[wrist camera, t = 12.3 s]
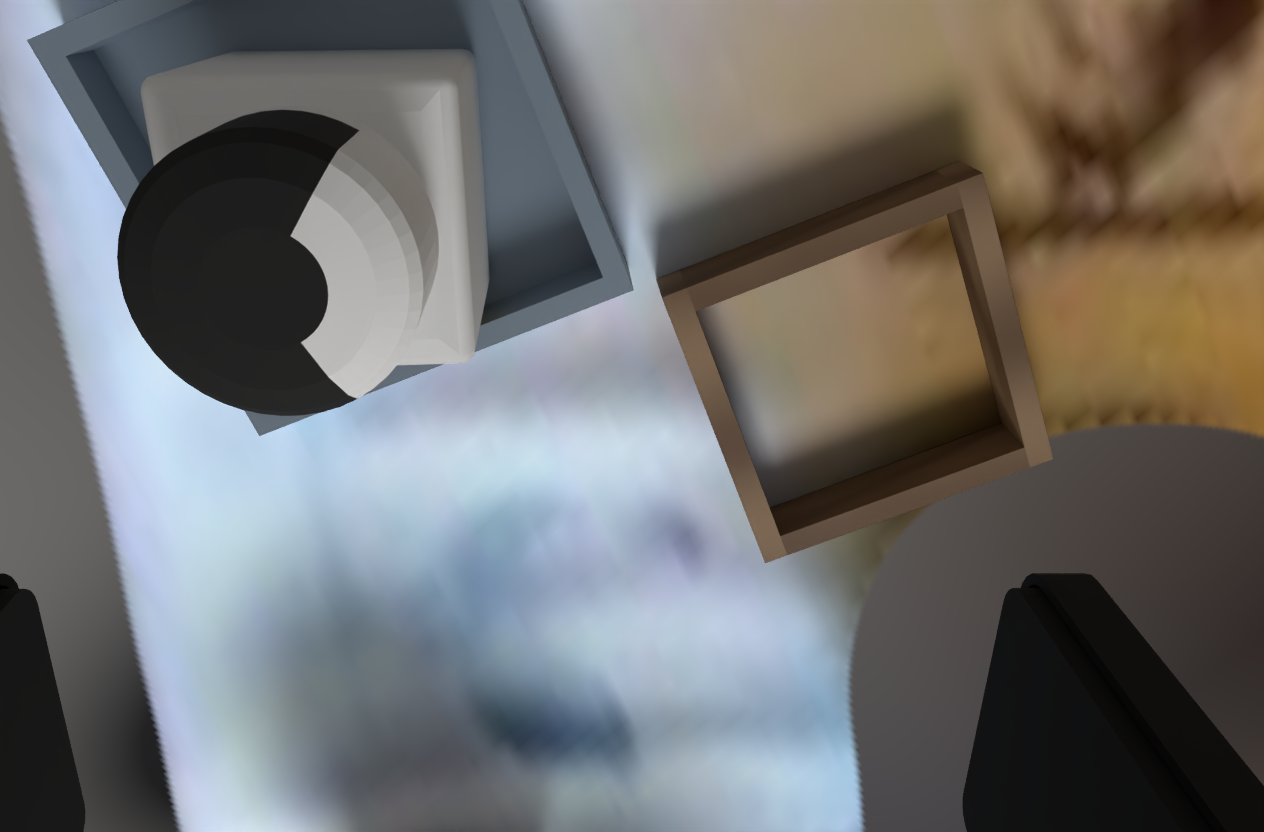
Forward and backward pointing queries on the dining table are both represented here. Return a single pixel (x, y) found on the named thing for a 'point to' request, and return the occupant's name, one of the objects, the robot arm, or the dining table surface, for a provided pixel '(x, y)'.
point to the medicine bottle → (308, 222)
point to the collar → (914, 476)
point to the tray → (375, 20)
